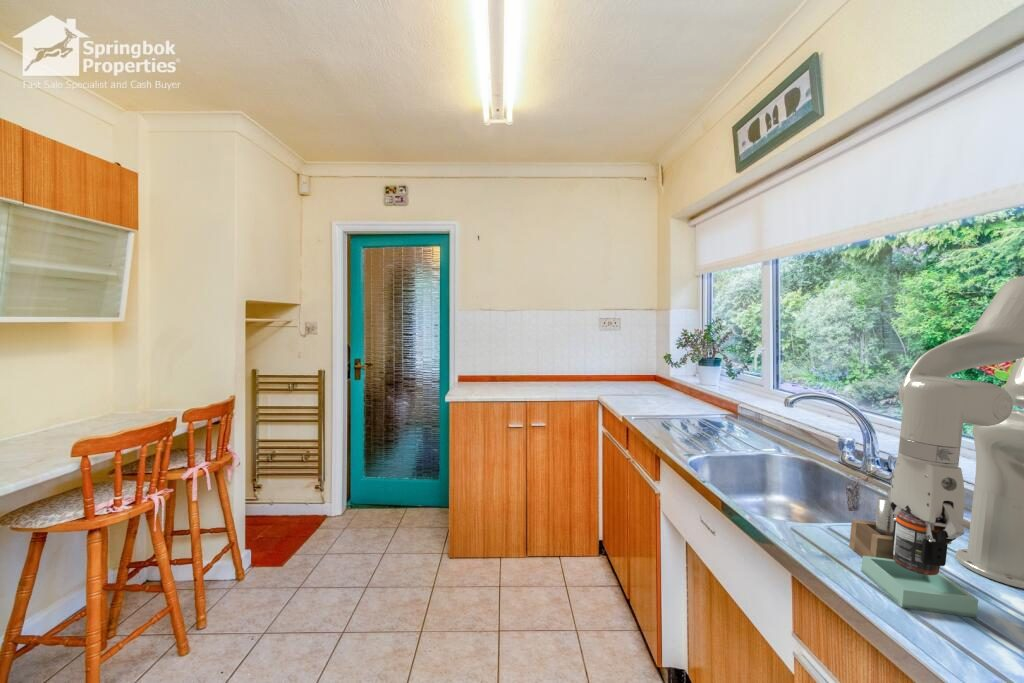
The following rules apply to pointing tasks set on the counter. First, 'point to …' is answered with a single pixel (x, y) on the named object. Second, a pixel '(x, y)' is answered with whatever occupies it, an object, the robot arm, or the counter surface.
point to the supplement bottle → (911, 543)
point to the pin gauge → (884, 517)
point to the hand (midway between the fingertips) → (917, 552)
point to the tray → (919, 588)
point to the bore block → (870, 540)
